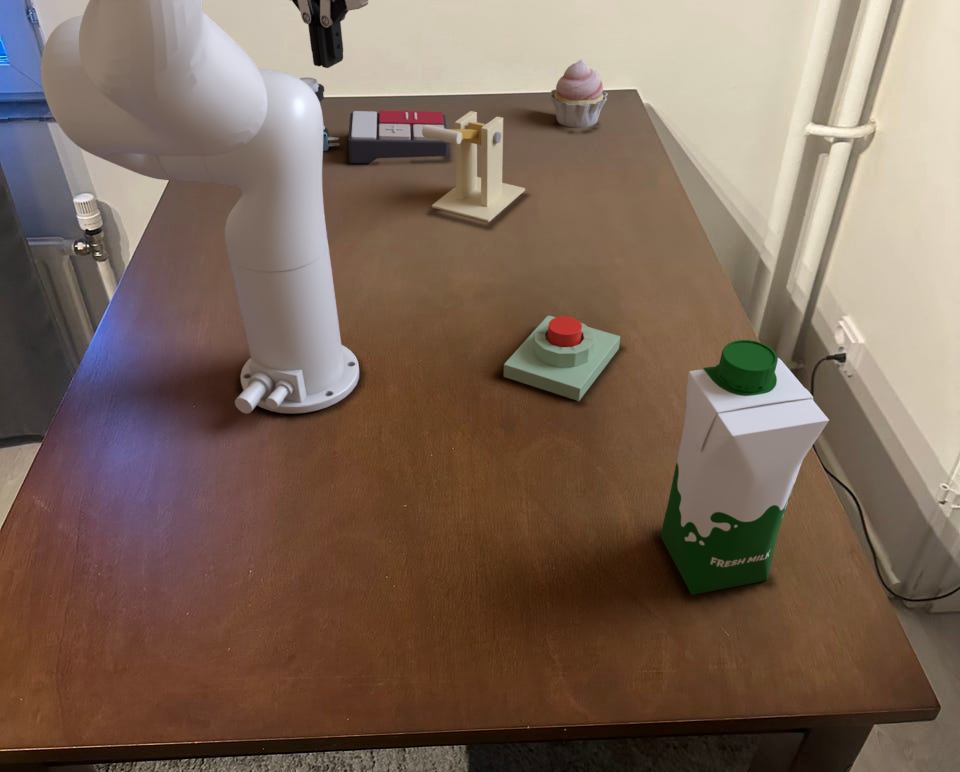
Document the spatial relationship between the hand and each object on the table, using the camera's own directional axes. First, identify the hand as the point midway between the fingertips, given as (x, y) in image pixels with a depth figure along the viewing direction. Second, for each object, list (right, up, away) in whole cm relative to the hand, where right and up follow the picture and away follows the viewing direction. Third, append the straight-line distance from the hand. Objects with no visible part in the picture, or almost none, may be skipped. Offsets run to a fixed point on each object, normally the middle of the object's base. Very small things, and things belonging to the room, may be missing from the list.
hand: (328, 62), depth 95 cm
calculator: (+3, +9, +45) cm, 46 cm away
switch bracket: (+16, -5, +31) cm, 35 cm away
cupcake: (+32, +15, +51) cm, 62 cm away
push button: (-9, +9, +45) cm, 47 cm away
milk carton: (+36, -52, -17) cm, 66 cm away
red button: (+25, -29, +2) cm, 39 cm away
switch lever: (+14, 0, +21) cm, 25 cm away
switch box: (+25, -31, +4) cm, 40 cm away
